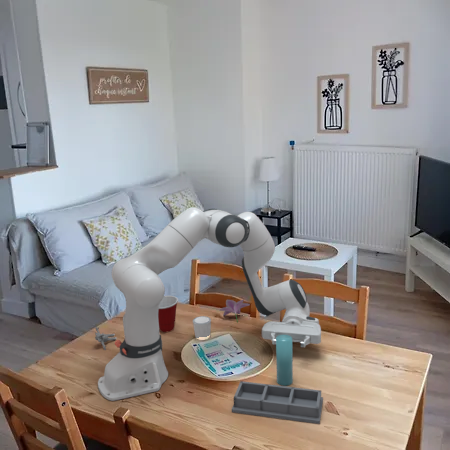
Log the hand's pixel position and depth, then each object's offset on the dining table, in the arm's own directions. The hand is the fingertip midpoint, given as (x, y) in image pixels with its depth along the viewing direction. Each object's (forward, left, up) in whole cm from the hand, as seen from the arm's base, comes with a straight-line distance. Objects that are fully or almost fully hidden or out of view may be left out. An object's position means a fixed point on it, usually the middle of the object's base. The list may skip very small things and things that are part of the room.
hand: (288, 343), depth 163 cm
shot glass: (-15, +34, -8) cm, 38 cm away
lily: (+3, +40, -8) cm, 41 cm away
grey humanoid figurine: (-48, +50, -8) cm, 70 cm away
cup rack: (-16, -16, -8) cm, 24 cm away
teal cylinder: (-7, -7, -8) cm, 13 cm away
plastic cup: (-24, +48, -8) cm, 54 cm away
